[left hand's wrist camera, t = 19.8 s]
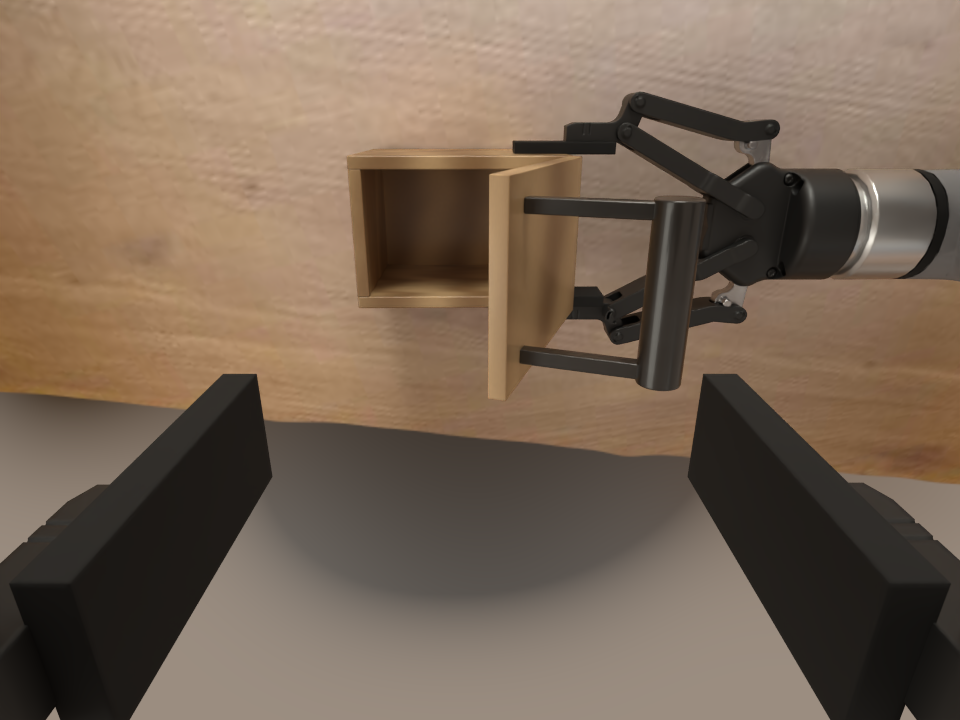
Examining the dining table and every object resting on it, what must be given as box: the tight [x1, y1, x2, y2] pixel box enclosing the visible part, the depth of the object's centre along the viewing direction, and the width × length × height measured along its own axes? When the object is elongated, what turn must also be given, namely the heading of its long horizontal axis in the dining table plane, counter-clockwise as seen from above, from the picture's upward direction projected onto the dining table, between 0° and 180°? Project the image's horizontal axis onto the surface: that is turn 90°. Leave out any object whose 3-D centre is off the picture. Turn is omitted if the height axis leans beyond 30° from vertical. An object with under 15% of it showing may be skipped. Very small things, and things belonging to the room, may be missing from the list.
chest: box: [347, 149, 572, 308], centre depth 42 cm, size 14×10×10 cm
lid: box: [488, 156, 706, 401], centre depth 30 cm, size 15×10×8 cm
